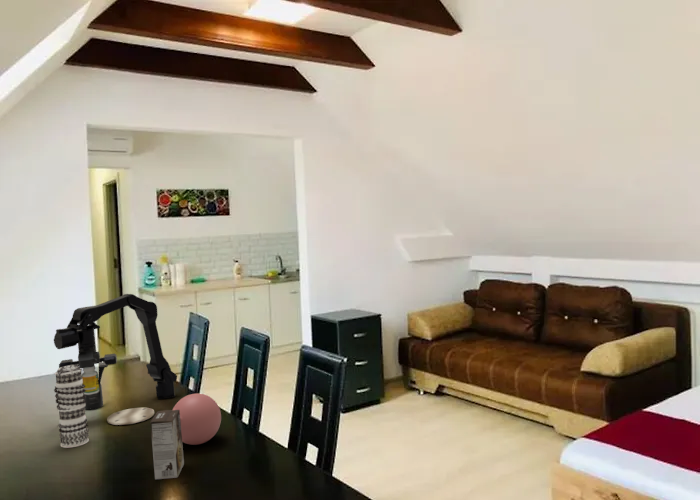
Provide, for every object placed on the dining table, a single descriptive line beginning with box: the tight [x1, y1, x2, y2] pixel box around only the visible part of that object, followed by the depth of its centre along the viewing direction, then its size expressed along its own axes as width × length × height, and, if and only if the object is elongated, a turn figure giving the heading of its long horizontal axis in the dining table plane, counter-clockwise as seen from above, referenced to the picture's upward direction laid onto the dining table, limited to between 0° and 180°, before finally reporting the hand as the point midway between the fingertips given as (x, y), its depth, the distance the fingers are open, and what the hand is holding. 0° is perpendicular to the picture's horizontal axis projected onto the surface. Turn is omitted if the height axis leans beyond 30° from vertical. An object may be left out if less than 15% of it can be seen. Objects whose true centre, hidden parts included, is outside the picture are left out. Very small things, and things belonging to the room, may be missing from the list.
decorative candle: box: [53, 365, 90, 449], centre depth 192 cm, size 9×9×25 cm
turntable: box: [106, 407, 155, 426], centre depth 214 cm, size 16×16×1 cm
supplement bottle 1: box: [81, 364, 99, 395], centre depth 214 cm, size 5×5×10 cm
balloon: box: [172, 393, 222, 446], centre depth 184 cm, size 15×20×15 cm
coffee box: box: [150, 409, 185, 480], centre depth 165 cm, size 9×6×16 cm
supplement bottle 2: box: [83, 382, 104, 411], centre depth 230 cm, size 7×7×12 cm
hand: (90, 385), depth 214 cm, fingers closed on supplement bottle 1, 5 cm apart
